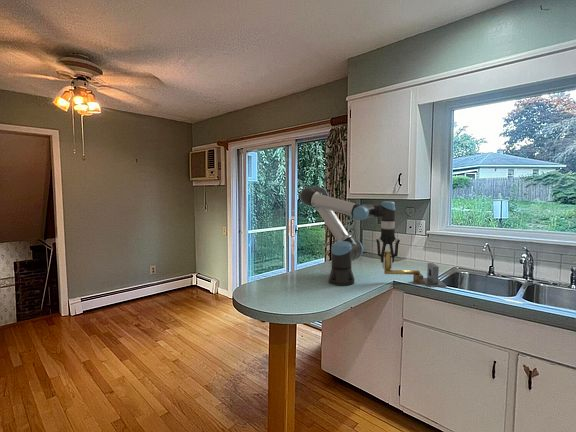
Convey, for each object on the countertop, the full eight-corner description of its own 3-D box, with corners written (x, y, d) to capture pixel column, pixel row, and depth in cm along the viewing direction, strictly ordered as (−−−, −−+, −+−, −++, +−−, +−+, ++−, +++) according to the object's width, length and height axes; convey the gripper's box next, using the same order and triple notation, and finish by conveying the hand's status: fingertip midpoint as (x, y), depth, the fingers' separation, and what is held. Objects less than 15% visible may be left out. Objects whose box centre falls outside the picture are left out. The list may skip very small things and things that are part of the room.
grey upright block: (427, 286, 176) (428, 267, 175) (419, 279, 190) (420, 261, 189) (446, 286, 175) (446, 268, 174) (436, 279, 189) (437, 262, 188)
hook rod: (384, 274, 183) (385, 252, 182) (383, 273, 186) (383, 251, 185) (420, 275, 181) (420, 252, 180) (418, 273, 184) (418, 251, 183)
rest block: (415, 283, 181) (416, 275, 180) (413, 281, 186) (413, 273, 185) (423, 283, 180) (423, 276, 180) (420, 281, 185) (420, 273, 185)
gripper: (374, 229, 179) (373, 269, 181) (404, 229, 177) (403, 269, 180) (372, 227, 186) (371, 266, 189) (400, 227, 185) (400, 266, 187)
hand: (387, 267), depth 184 cm, fingers closed on hook rod, 3 cm apart
